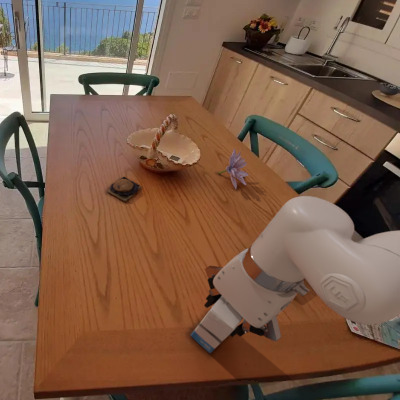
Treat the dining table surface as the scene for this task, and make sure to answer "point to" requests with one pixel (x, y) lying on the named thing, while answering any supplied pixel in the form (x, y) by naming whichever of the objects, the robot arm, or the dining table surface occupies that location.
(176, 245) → the dining table surface
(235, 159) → the water lily
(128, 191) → the square push button
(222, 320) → the ink box
